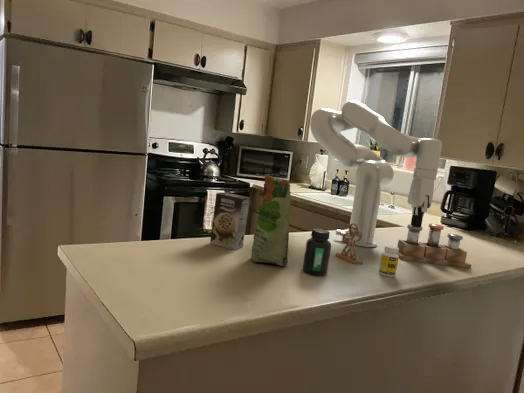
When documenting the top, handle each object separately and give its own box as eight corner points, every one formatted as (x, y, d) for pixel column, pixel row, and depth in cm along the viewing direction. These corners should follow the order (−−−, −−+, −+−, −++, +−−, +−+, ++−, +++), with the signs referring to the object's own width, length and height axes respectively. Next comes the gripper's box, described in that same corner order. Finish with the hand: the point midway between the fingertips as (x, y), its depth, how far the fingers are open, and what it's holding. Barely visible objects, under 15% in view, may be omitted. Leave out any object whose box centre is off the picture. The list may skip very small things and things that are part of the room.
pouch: (280, 271, 119) (293, 179, 115) (240, 261, 122) (251, 172, 119) (292, 262, 129) (304, 178, 126) (254, 253, 133) (265, 171, 129)
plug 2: (447, 258, 154) (451, 236, 153) (441, 254, 159) (445, 232, 158) (461, 259, 154) (465, 237, 153) (454, 256, 159) (458, 234, 158)
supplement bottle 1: (320, 278, 117) (327, 234, 115) (297, 271, 121) (304, 229, 119) (330, 273, 123) (337, 232, 121) (308, 267, 126) (315, 226, 125)
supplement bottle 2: (386, 277, 127) (391, 249, 126) (375, 271, 131) (380, 244, 130) (398, 276, 129) (403, 249, 128) (387, 271, 133) (392, 244, 132)
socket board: (400, 259, 150) (403, 244, 150) (390, 251, 160) (393, 237, 160) (470, 268, 152) (473, 253, 151) (456, 259, 162) (459, 246, 161)
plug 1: (406, 249, 153) (410, 226, 152) (401, 245, 158) (405, 223, 157) (420, 250, 153) (424, 228, 152) (414, 247, 158) (419, 225, 157)
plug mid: (428, 248, 153) (432, 225, 152) (422, 244, 158) (426, 222, 157) (442, 249, 153) (446, 227, 152) (435, 246, 158) (440, 224, 157)
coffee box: (208, 244, 136) (215, 193, 134) (218, 240, 142) (224, 191, 140) (235, 250, 133) (242, 198, 131) (244, 246, 139) (250, 196, 137)
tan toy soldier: (334, 256, 143) (340, 220, 141) (343, 255, 145) (349, 220, 143) (352, 264, 136) (359, 226, 134) (362, 264, 138) (368, 227, 136)
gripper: (406, 171, 159) (397, 221, 161) (423, 175, 144) (413, 229, 146) (426, 173, 159) (417, 223, 162) (445, 177, 144) (435, 232, 147)
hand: (415, 226), depth 154 cm, fingers closed
